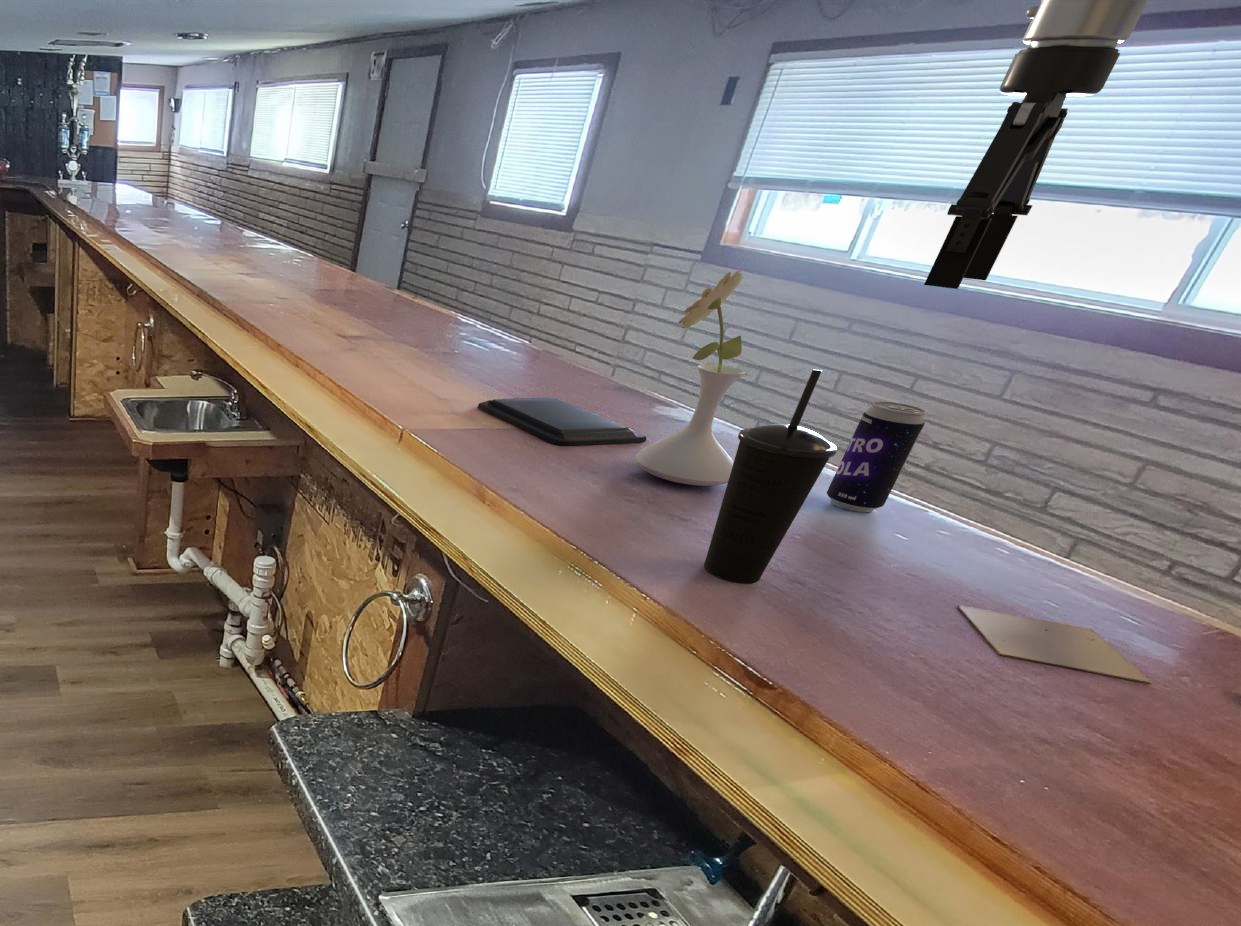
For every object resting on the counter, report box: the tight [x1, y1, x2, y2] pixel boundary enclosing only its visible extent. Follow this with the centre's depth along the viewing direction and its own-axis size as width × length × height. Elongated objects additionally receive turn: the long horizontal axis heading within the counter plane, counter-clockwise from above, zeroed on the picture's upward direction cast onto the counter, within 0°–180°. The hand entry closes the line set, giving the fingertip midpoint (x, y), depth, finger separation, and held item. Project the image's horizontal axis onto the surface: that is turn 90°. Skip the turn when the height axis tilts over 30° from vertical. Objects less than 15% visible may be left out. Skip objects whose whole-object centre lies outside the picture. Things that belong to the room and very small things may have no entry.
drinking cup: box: [703, 368, 838, 584], centre depth 83 cm, size 8×8×20 cm
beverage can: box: [826, 400, 927, 513], centre depth 104 cm, size 6×6×12 cm
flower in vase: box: [634, 269, 746, 487], centre depth 107 cm, size 13×11×25 cm
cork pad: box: [956, 604, 1152, 684], centre depth 78 cm, size 10×10×1 cm
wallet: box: [477, 397, 648, 446], centre depth 133 cm, size 20×2×15 cm
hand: (955, 283), depth 95 cm, fingers open, 13 cm apart
